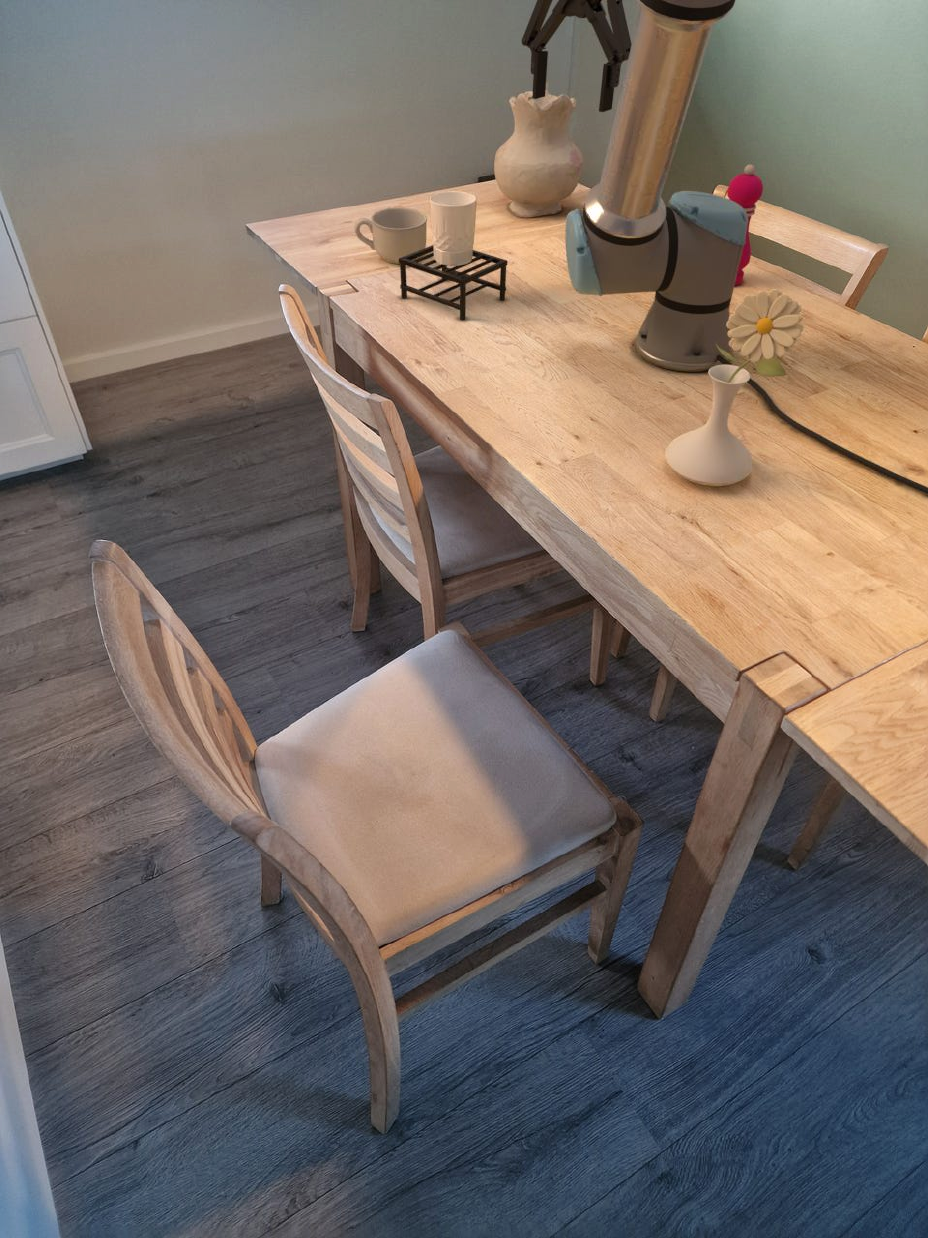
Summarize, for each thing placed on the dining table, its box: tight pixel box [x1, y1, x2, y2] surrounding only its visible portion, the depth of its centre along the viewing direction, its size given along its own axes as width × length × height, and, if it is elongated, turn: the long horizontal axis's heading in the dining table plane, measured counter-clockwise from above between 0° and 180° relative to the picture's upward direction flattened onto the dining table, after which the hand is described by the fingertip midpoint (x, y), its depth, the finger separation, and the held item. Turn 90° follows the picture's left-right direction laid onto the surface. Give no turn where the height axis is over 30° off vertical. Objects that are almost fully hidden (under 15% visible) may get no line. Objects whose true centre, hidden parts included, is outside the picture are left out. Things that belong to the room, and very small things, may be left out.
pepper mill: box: [726, 164, 764, 287], centre depth 152 cm, size 7×7×20 cm
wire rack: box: [399, 244, 508, 321], centre depth 149 cm, size 15×12×7 cm
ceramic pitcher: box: [493, 76, 584, 218], centre depth 181 cm, size 22×20×25 cm
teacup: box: [354, 206, 428, 265], centre depth 163 cm, size 14×11×8 cm
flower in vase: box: [664, 288, 805, 487], centre depth 102 cm, size 13×11×25 cm
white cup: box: [429, 190, 478, 267], centre depth 143 cm, size 8×8×10 cm
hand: (571, 103), depth 140 cm, fingers open, 13 cm apart
